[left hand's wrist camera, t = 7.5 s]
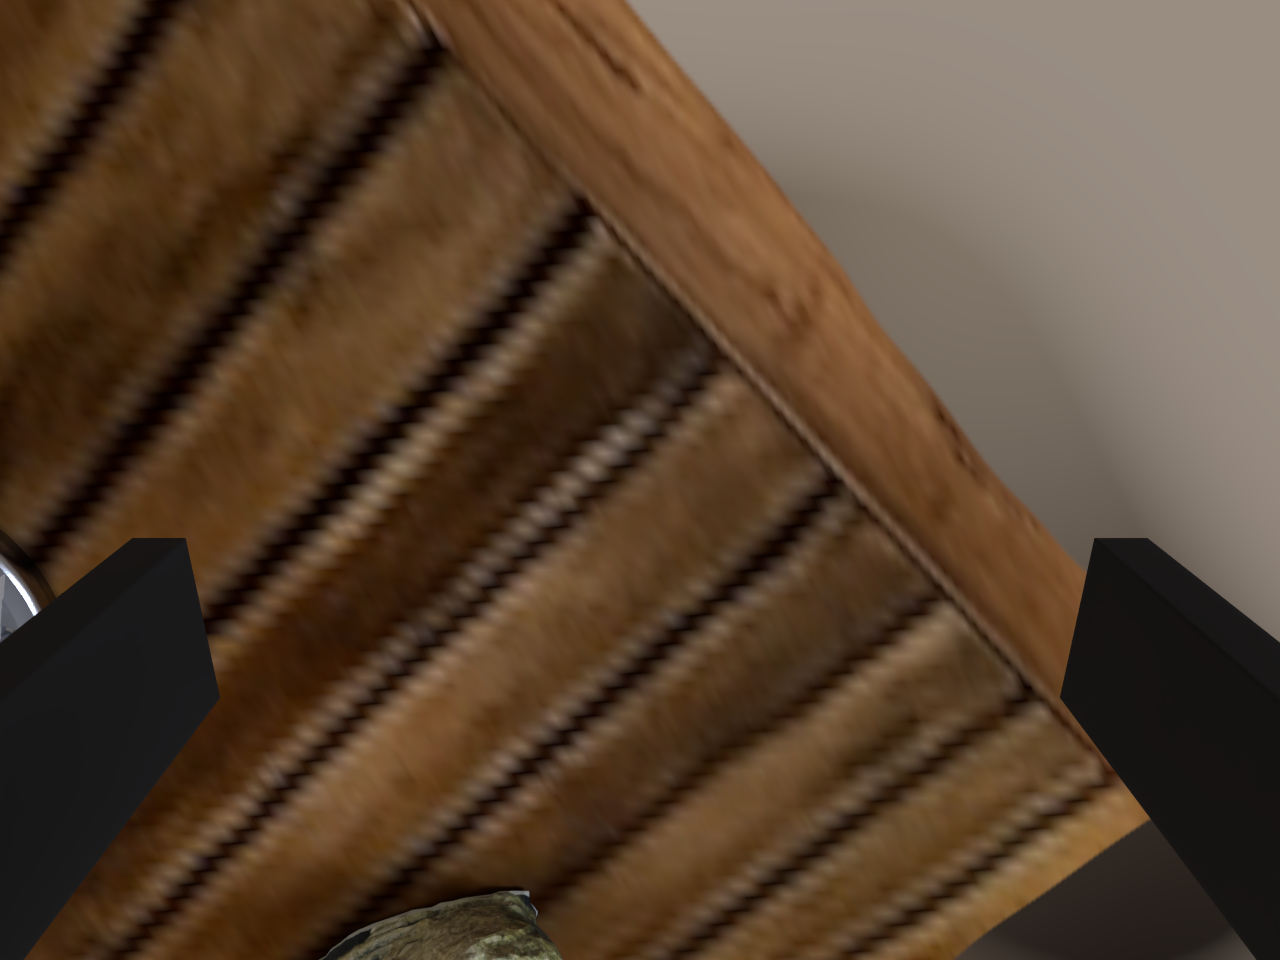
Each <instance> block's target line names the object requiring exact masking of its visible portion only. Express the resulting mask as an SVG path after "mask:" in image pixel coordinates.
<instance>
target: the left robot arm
mask: <svg viewBox="0 0 1280 960" xmlns="http://www.w3.org/2000/svg"><path fill="white" fill-rule="evenodd" d="M219 698H220V695H219V691H218V686H217V681H216V677H215V672H214V667H213V663H212V658H211V654H210V649H209V644H208V640H207V635H206V630H205V626H204V621H203V617H202V612H201V607H200V603H199V598H198V594H197V589H196V584H195V580H194V575H193V570H192V566H191V561H190V557H189V552H188V547H187V543H186V538H132V539H131V540H130V541H128V542H127V543H126V544H124V545H123V546H122V547H121V548H119V549H118V550H117V551H116V552H114V553H113V554H112V555H111V556H109V557H108V558H107V559H105V560H104V561H103V562H102V563H100V564H99V565H98V566H97V567H95V568H94V569H93V570H91V571H90V572H89V573H88V574H86V575H85V576H84V577H83V578H81V579H80V580H79V581H78V582H76V583H75V584H74V585H72V586H71V587H70V588H69V589H67V590H66V591H65V592H64V593H62V594H61V595H60V596H59V597H57V598H56V597H55V595H54V593H53V591H52V589H51V588H50V586H49V584H48V582H47V581H46V579H45V578H44V576H43V575H42V573H41V572H40V570H39V569H38V568H37V567H36V565H35V564H34V563H33V561H32V560H31V559H30V558H29V557H28V556H27V555H26V553H25V552H24V551H23V550H22V549H21V548H20V547H19V546H18V545H17V544H16V543H15V542H14V541H13V540H12V539H11V538H10V537H8V536H7V535H6V534H5V533H4V532H2V531H1V530H0V960H24V958H25V957H26V956H27V954H28V953H29V952H30V950H31V949H32V948H33V946H34V945H35V944H36V942H37V941H38V940H39V938H40V937H41V936H42V934H43V933H44V932H45V930H46V929H47V928H48V926H49V925H50V924H51V922H52V921H53V920H54V918H55V917H56V916H57V914H58V913H59V912H60V910H61V909H62V908H63V906H64V905H65V904H66V902H67V901H68V900H69V898H70V897H71V896H72V894H73V893H74V892H75V890H76V889H77V888H78V886H79V885H80V884H81V882H82V881H83V880H84V878H85V877H86V876H87V874H88V873H89V872H90V870H91V869H92V868H93V866H94V865H95V864H96V862H97V861H98V860H99V858H100V857H101V856H102V854H103V853H104V852H105V850H106V849H107V848H108V846H109V845H110V844H111V842H112V841H113V840H114V838H115V837H116V836H117V834H118V833H119V832H120V830H121V829H122V828H123V826H124V825H125V824H126V822H127V821H128V820H129V818H130V817H131V816H132V814H133V813H134V812H135V810H136V809H137V808H138V806H139V805H140V804H141V802H142V801H143V800H144V798H145V797H146V796H147V794H148V793H149V792H150V790H151V789H152V788H153V786H154V785H155V784H156V782H157V781H158V780H159V778H160V777H161V776H162V774H163V773H164V772H165V770H166V769H167V768H168V766H169V765H170V764H171V762H172V761H173V760H174V758H175V757H176V756H177V754H178V753H179V752H180V750H181V749H182V748H183V746H184V745H185V744H186V742H187V741H188V740H189V738H190V737H191V736H192V734H193V733H194V732H195V730H196V729H197V728H198V726H199V725H200V724H201V722H202V721H203V720H204V718H205V717H206V716H207V714H208V713H209V712H210V710H211V709H212V708H213V706H214V705H215V704H216V702H217V701H218V700H219ZM1060 698H1061V700H1062V701H1063V702H1064V704H1065V705H1066V706H1067V708H1068V709H1069V710H1070V712H1071V713H1072V714H1073V716H1074V717H1075V718H1076V720H1077V721H1078V722H1079V724H1080V725H1081V726H1082V728H1083V729H1084V730H1085V732H1086V733H1087V734H1088V736H1089V737H1090V738H1091V740H1092V741H1093V742H1094V744H1095V745H1096V746H1097V748H1098V749H1099V750H1100V752H1101V753H1102V754H1103V756H1104V757H1105V758H1106V760H1107V761H1108V762H1109V764H1110V765H1111V766H1112V768H1113V769H1114V770H1115V772H1116V773H1117V774H1118V776H1119V777H1120V778H1121V780H1122V781H1123V782H1124V784H1125V785H1126V786H1127V788H1128V789H1129V790H1130V792H1131V793H1132V794H1133V796H1134V797H1135V798H1136V800H1137V801H1138V802H1139V804H1140V805H1141V806H1142V808H1143V809H1144V810H1145V812H1146V813H1147V814H1148V816H1149V817H1150V818H1151V820H1152V821H1153V822H1154V824H1155V825H1156V826H1157V828H1158V829H1159V830H1160V832H1161V833H1162V834H1163V836H1164V837H1165V838H1166V840H1167V841H1168V842H1169V844H1170V845H1171V846H1172V848H1173V849H1174V850H1175V852H1176V853H1177V854H1178V856H1179V857H1180V858H1181V860H1182V861H1183V862H1184V864H1185V865H1186V866H1187V868H1188V869H1189V870H1190V872H1191V873H1192V874H1193V876H1194V877H1195V878H1196V880H1197V881H1198V882H1199V884H1200V885H1201V886H1202V888H1203V889H1204V890H1205V892H1206V893H1207V894H1208V896H1209V897H1210V898H1211V900H1212V901H1213V902H1214V904H1215V905H1216V906H1217V908H1218V909H1219V910H1220V912H1221V913H1222V914H1223V916H1224V917H1225V918H1226V920H1227V921H1228V922H1229V924H1230V925H1231V926H1232V928H1233V929H1234V930H1235V932H1236V933H1237V934H1238V936H1239V937H1240V938H1241V940H1242V941H1243V942H1244V944H1245V945H1246V946H1247V948H1248V949H1249V950H1250V952H1251V953H1252V954H1253V956H1254V957H1255V958H1256V960H1280V642H1278V641H1277V640H1276V639H1275V638H1273V637H1272V636H1271V635H1270V634H1268V633H1267V632H1266V631H1265V630H1263V629H1262V628H1261V627H1259V626H1258V625H1257V624H1256V623H1254V622H1253V621H1252V620H1251V619H1249V618H1248V617H1247V616H1246V615H1244V614H1243V613H1242V612H1240V611H1239V610H1238V609H1237V608H1235V607H1234V606H1233V605H1232V604H1230V603H1229V602H1228V601H1227V600H1225V599H1224V598H1223V597H1221V596H1220V595H1219V594H1218V593H1216V592H1215V591H1214V590H1213V589H1211V588H1210V587H1209V586H1208V585H1206V584H1205V583H1204V582H1202V581H1201V580H1200V579H1199V578H1197V577H1196V576H1195V575H1194V574H1192V573H1191V572H1190V571H1188V570H1187V569H1186V568H1185V567H1183V566H1182V565H1181V564H1180V563H1178V562H1177V561H1176V560H1174V559H1173V558H1172V557H1171V556H1169V555H1168V554H1167V553H1166V552H1164V551H1163V550H1162V549H1161V548H1159V547H1158V546H1157V545H1156V544H1154V543H1153V542H1152V541H1150V540H1149V539H1148V538H1095V539H1094V543H1093V548H1092V552H1091V557H1090V561H1089V566H1088V570H1087V575H1086V580H1085V584H1084V589H1083V594H1082V598H1081V603H1080V607H1079V612H1078V617H1077V621H1076V626H1075V630H1074V635H1073V640H1072V644H1071V649H1070V654H1069V658H1068V663H1067V667H1066V672H1065V677H1064V681H1063V686H1062V691H1061V695H1060Z"/></svg>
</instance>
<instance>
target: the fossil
mask: <svg viewBox="0 0 1280 960" xmlns="http://www.w3.org/2000/svg"><path fill="white" fill-rule="evenodd" d="M537 912H538V911H537V910H536V909H535V907H534V906H533V905H532V904H531V903H530V902H529V891H500V892H496V893H493V894H489V895H481V896H474V897H466V898H461V899H458V900H454V901H449V902H442V903H439V904H437V905H435V906H433V907H430V908H423V909H416V910H411V911H408V912H405V913H402V914H400V915H397V916H394V917H391V918H388V919H385V920H382V921H379V922H376V923H374V924H371V925H369V926H367V927H364V928H362V929H359V930H358V931H356V932H354V933H352V934H351V935H349V936H348V937H346V938H345V939H344V940H343V941H342V942H340V943H339V944H338V945H336V946H335V947H333V948H332V949H331V950H330V951H329V953H328V954H327V955H326V956H325V957H323V958H321V959H320V960H563V959H562V956H561V954H560V953H559V951H558V949H557V947H556V946H555V944H554V943H553V942H552V941H551V940H550V938H549V936H548V935H547V934H546V933H545V932H543V931H542V930H541V929H540V928H539V927H538V926H537V925H536V917H537Z"/></svg>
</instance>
